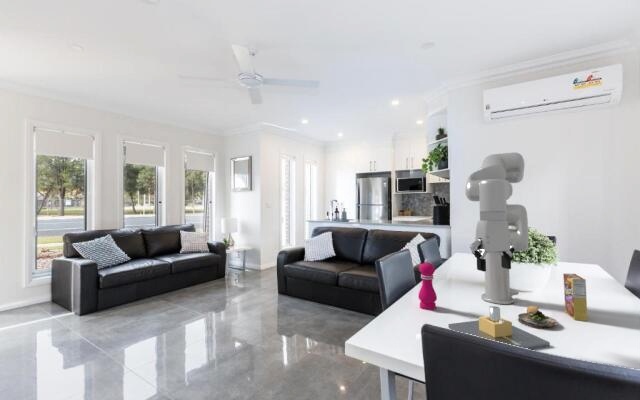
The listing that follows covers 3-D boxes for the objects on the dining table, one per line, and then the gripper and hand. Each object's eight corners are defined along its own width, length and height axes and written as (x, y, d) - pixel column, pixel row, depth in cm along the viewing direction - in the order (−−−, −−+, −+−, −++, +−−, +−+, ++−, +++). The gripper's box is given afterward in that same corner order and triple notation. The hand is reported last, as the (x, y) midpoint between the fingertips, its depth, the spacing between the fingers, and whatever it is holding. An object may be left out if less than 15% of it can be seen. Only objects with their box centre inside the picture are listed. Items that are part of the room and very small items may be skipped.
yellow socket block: (495, 327, 102) (495, 313, 102) (512, 335, 96) (511, 320, 96) (479, 329, 101) (478, 315, 101) (494, 337, 94) (494, 322, 94)
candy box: (563, 311, 119) (562, 272, 119) (577, 313, 117) (576, 273, 118) (573, 320, 111) (572, 278, 111) (587, 321, 109) (586, 279, 109)
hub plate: (496, 321, 110) (495, 296, 110) (549, 346, 91) (549, 315, 91) (448, 327, 105) (447, 301, 106) (494, 355, 86) (493, 322, 86)
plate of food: (545, 332, 101) (544, 310, 101) (510, 320, 111) (510, 300, 112) (566, 326, 105) (565, 305, 106) (531, 315, 116) (530, 296, 116)
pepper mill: (438, 310, 122) (437, 261, 122) (419, 309, 123) (418, 260, 124) (435, 305, 129) (434, 258, 129) (417, 304, 130) (416, 257, 131)
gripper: (505, 215, 104) (506, 265, 104) (462, 217, 100) (463, 269, 100) (524, 216, 97) (525, 269, 97) (479, 218, 93) (480, 274, 93)
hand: (493, 269), depth 99 cm, fingers open, 9 cm apart
